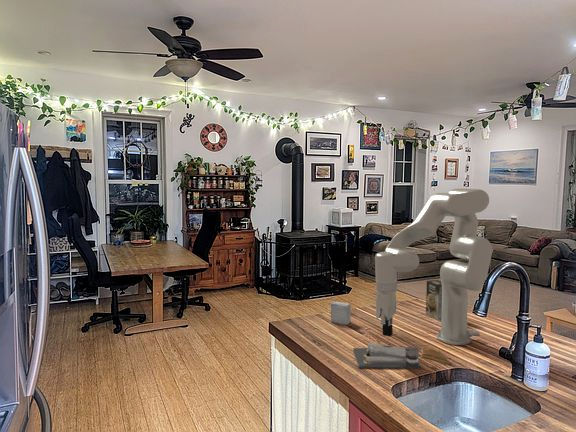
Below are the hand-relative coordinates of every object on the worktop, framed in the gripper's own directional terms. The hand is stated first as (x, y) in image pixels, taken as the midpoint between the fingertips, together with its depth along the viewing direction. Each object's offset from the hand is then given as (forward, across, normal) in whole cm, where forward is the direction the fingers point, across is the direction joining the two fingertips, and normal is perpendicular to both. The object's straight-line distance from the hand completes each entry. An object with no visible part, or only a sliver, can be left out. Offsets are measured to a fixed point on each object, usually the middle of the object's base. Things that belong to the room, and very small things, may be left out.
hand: (387, 335), depth 148 cm
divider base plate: (+7, +5, +1) cm, 9 cm away
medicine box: (+7, -21, -28) cm, 36 cm away
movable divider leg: (+5, +6, +3) cm, 9 cm away
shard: (+8, -6, +16) cm, 19 cm away
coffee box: (+10, -52, +7) cm, 53 cm away
